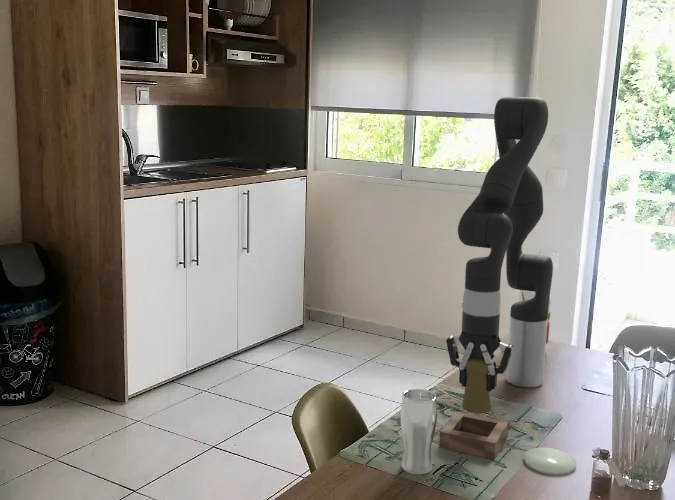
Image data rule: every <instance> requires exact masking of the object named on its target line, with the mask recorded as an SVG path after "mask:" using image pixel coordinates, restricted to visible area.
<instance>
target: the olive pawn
mask: <svg viewBox="0 0 675 500" xmlns="http://www.w3.org/2000/svg"><path fill="white" fill-rule="evenodd" d="M466 369H467V371H468V377H467V382H466V387H464V393H463V399H462V404H461V407H462V409H463V410H464V411H466V412H468V413H470V414H486V413H489V412H490V411H491V410H492V401H491V400H492V399H491V392H490V391H488V375H489V374H490V373H489V370H488V366H487V365H486V363H485V360H484V359H481V358H479V357H470V358H469V360H468V361H467V364H466Z"/></svg>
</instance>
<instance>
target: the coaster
mask: <svg viewBox="0 0 675 500" xmlns="http://www.w3.org/2000/svg"><path fill="white" fill-rule="evenodd" d="M523 455H524V456H523V462H524V464H525V465H526V466H527V467H528V468H529V469H531V470H532V471H533V470H534V471H535V472H538V473H541V474H545V475H550V476H564V475H568V474H571V473H573V472H574V471H575V470H576V468H577V461H576V458H575V457H573V455H572V454H570V453H568V452H566V451H563V450H560V449H557V448H552V447H534V448H530V449H528V450H526V451H525V453H524V454H523Z"/></svg>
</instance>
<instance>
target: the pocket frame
mask: <svg viewBox="0 0 675 500" xmlns="http://www.w3.org/2000/svg"><path fill="white" fill-rule="evenodd" d="M509 424H510V421H508V420H502V419H498V418H493V417H488V416H482V415H478V414H475V413H470V412H468V413H467V412H462V411H458V410H456V411H455V412H454V413H453V415H452V416H451V417H450V418H449V419H448V420H447V422H446V423H445V425H443V427H442V428H441V430H439V439H438V440H439V444H438V446H439V448H440V449H441V448H442V449H446V450H451V451H453V452H454V451H455V452H458V453H464V454H469V455H473V456H477V457H482V458H486V459H489V460H490V459H491V460H495V459H496V457H497V455H498V454H499V453H500V451H501V449H502V447H503V446H504V444H505V443H506V441H507V439H508V438H509V429H510V428H509Z"/></svg>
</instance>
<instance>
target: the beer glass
mask: <svg viewBox="0 0 675 500" xmlns="http://www.w3.org/2000/svg"><path fill="white" fill-rule="evenodd" d="M437 401H438V400H437V394H436V393H435V392H433V391H430V390H428V389H424V388H413V389H412V388H411V389H408V390H405V391H404V392H403V393H402V399H401V408H400V427H401V435H402V442H403V454H402V459H401V462H400V464H401V465H400V466H401V468H402V470H403V471H405V472H407V474H412V475H426V474H428V473H430V472H431V471H432V470H433V460H432V445H433V443H434V438H435V433H436V427H437V419H438V404H437Z"/></svg>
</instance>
